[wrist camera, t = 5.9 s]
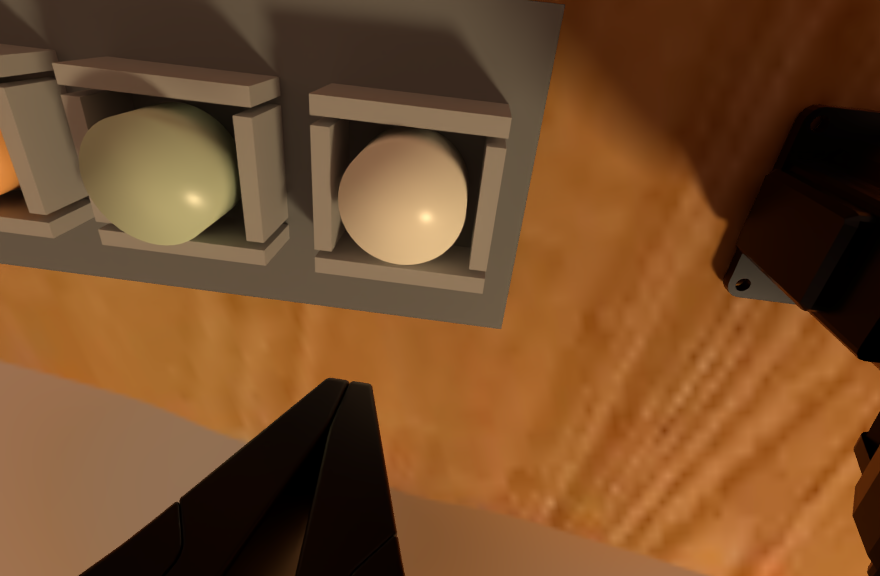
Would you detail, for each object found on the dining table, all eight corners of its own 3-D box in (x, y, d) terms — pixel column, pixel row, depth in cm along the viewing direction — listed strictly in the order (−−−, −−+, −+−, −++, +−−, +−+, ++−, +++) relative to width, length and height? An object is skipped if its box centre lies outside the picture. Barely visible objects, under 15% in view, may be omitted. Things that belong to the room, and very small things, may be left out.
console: (555, 5, 14) (577, 3, 10) (500, 300, 19) (502, 364, 15) (-114, -71, 14) (-303, -97, 11) (5, 236, 19) (-100, 284, 16)
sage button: (238, 109, 13) (200, 124, 11) (250, 224, 15) (219, 252, 13) (117, 94, 13) (61, 107, 12) (143, 210, 15) (98, 237, 13)
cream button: (475, 132, 14) (474, 150, 12) (461, 242, 15) (458, 271, 14) (356, 118, 14) (337, 133, 12) (355, 229, 15) (338, 256, 14)
